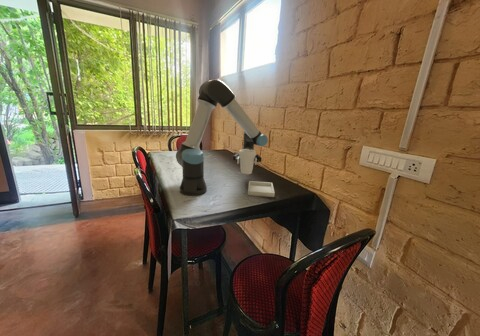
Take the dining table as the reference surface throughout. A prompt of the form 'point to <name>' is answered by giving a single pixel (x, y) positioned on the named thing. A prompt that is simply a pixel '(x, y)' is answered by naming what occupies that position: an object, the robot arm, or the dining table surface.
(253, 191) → the tray
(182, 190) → the robot arm
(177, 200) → the dining table surface
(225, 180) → the dining table surface
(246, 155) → the foam cup
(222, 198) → the dining table surface
